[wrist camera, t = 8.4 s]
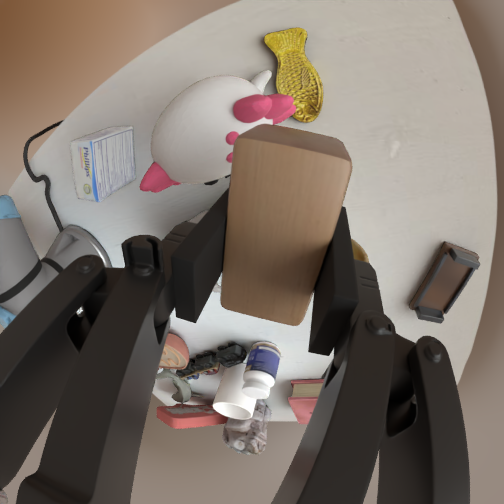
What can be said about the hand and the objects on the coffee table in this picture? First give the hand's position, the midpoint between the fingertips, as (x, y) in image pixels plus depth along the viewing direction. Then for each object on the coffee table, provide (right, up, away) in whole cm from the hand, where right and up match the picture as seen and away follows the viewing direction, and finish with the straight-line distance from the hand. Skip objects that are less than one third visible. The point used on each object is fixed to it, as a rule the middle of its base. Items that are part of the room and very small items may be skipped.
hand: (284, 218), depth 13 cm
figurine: (-1, -42, +51) cm, 66 cm away
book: (+16, -34, +42) cm, 56 cm away
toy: (-2, +13, +15) cm, 20 cm away
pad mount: (+27, -6, +20) cm, 34 cm away
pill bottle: (+1, -20, +36) cm, 41 cm away
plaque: (-24, -48, +55) cm, 77 cm away
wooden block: (-1, -4, +1) cm, 4 cm away
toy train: (-13, -24, +40) cm, 48 cm away
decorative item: (+6, +17, +10) cm, 21 cm away
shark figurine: (-21, -38, +54) cm, 69 cm away
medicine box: (-20, +13, +20) cm, 31 cm away
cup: (-3, -29, +44) cm, 53 cm away
